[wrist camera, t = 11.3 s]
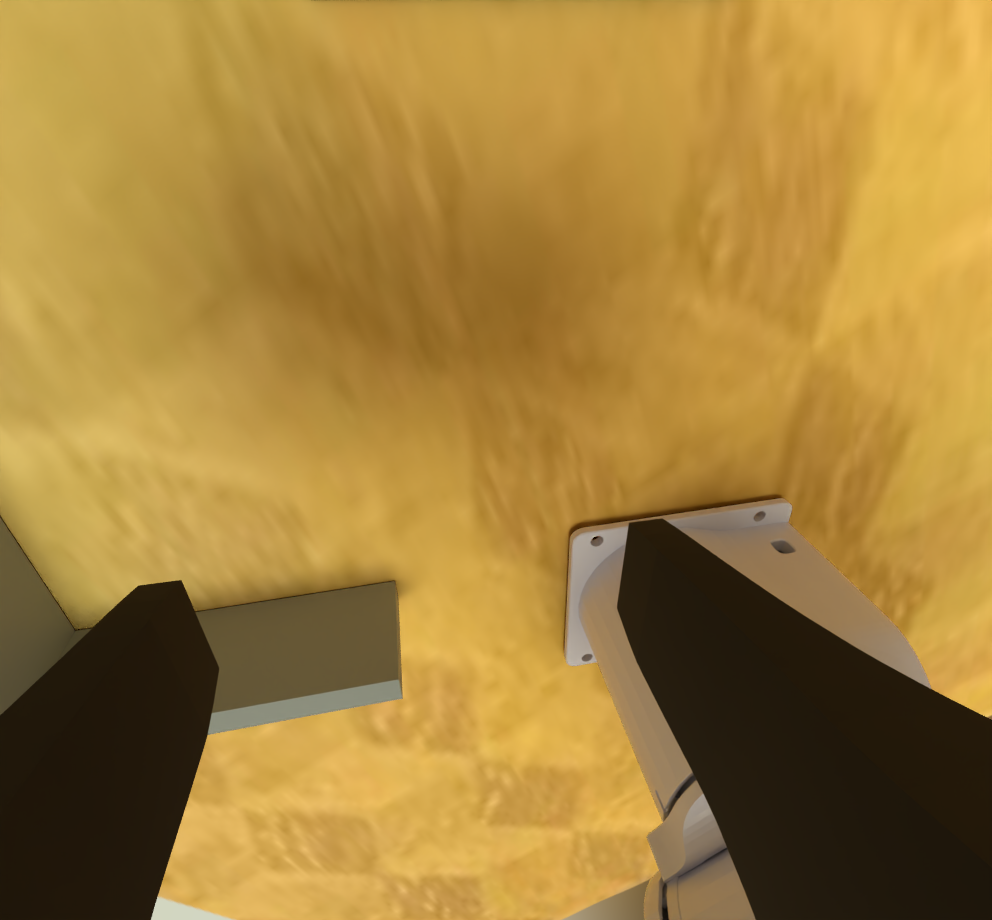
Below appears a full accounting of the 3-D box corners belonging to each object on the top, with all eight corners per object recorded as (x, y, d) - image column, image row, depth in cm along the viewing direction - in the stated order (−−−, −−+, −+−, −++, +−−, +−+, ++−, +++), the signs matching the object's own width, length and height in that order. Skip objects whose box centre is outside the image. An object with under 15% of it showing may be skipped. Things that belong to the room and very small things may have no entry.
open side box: (257, -167, 10) (188, -335, 7) (398, 599, 22) (402, 698, 18) (-544, -195, 9) (-1244, -441, 5) (58, 654, 20) (-18, 776, 16)
